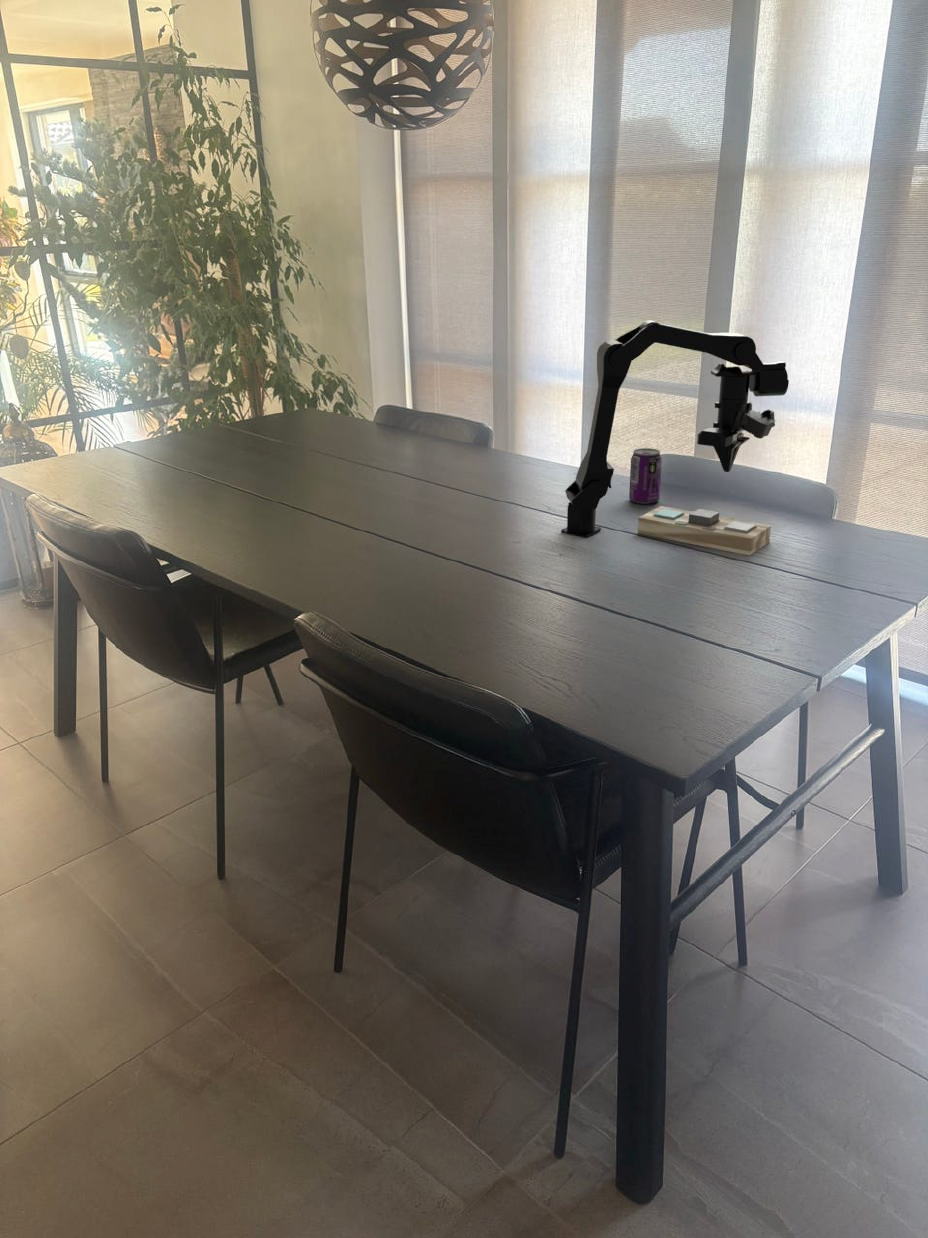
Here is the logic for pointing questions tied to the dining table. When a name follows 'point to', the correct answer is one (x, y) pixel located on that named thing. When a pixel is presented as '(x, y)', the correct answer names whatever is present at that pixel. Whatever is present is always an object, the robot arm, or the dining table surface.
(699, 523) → the gray square block
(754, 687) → the dining table surface
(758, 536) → the wooden key base
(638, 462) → the beverage can
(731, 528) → the key grey
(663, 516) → the key teal
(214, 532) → the dining table surface
